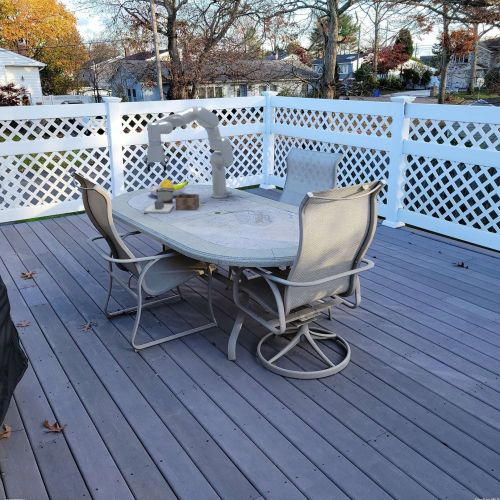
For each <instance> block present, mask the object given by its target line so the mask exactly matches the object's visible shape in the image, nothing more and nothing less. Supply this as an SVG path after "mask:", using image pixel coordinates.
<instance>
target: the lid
mask: <svg viewBox="0 0 500 500" xmlns="http://www.w3.org/2000/svg"><path fill="white" fill-rule="evenodd" d="M173 207H174V208H175V206H174V204H165V203H164V199H158V198H157V199H156V200H154V204H151V205H149V206H148V207H147V208H146V209H145V210H144V212H145V213H148V214H170V213H171V212H172V211H173V210H172V208H173ZM174 208H173V209H174ZM171 210H172V211H171ZM170 211H171V212H170ZM169 212H170V213H169Z"/></svg>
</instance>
